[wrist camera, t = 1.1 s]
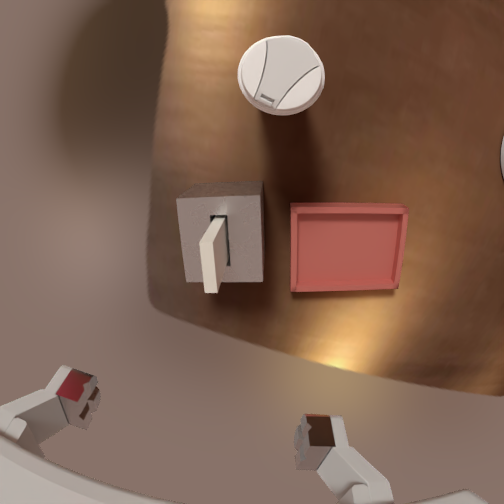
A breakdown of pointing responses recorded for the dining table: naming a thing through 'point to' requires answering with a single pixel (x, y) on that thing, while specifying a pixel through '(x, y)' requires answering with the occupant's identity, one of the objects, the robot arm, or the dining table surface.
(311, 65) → the paper cup
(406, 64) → the dining table surface
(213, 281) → the long rectangular block
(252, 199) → the dispenser
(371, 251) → the tray
